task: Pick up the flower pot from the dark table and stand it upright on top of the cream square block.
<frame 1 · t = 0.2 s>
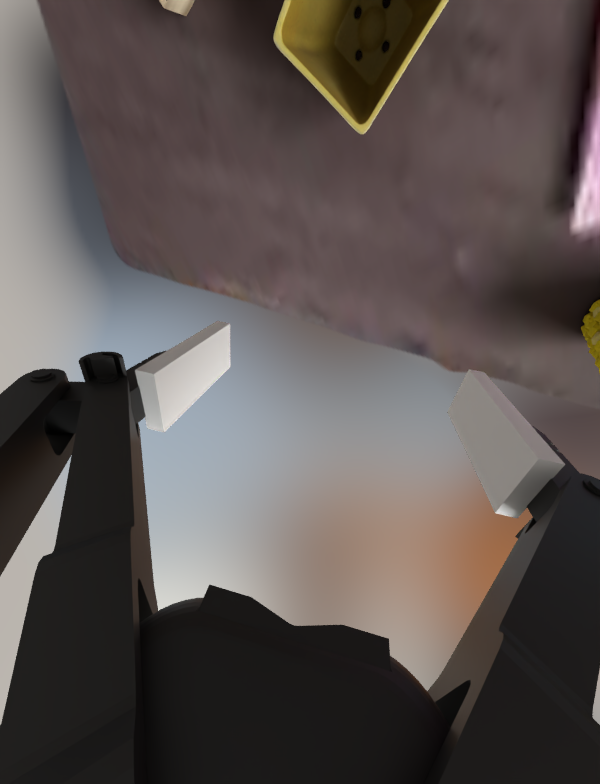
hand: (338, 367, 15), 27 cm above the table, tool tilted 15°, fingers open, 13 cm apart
flower pot: (370, 30, 23), on the table
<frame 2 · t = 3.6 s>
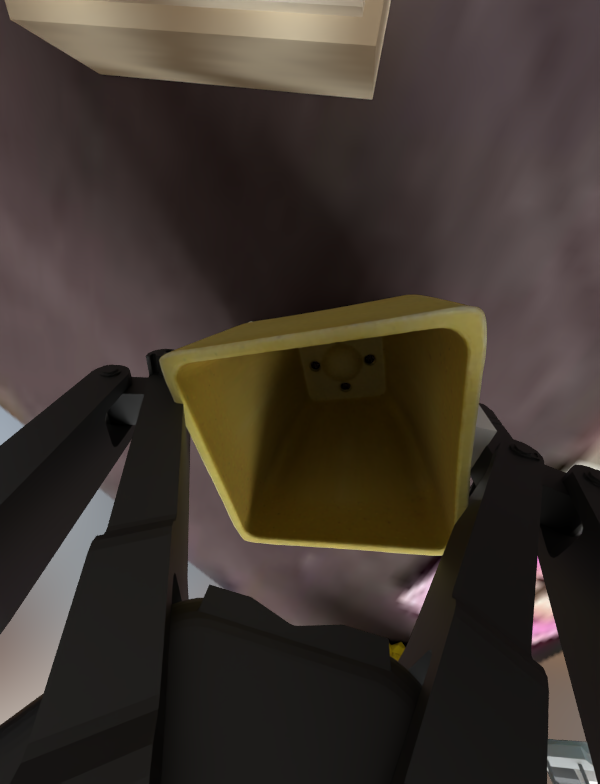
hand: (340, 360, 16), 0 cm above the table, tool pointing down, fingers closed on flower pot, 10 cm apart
toy car: (567, 739, 38), on the table
flower pot: (341, 357, 16), on the table, touching gripper
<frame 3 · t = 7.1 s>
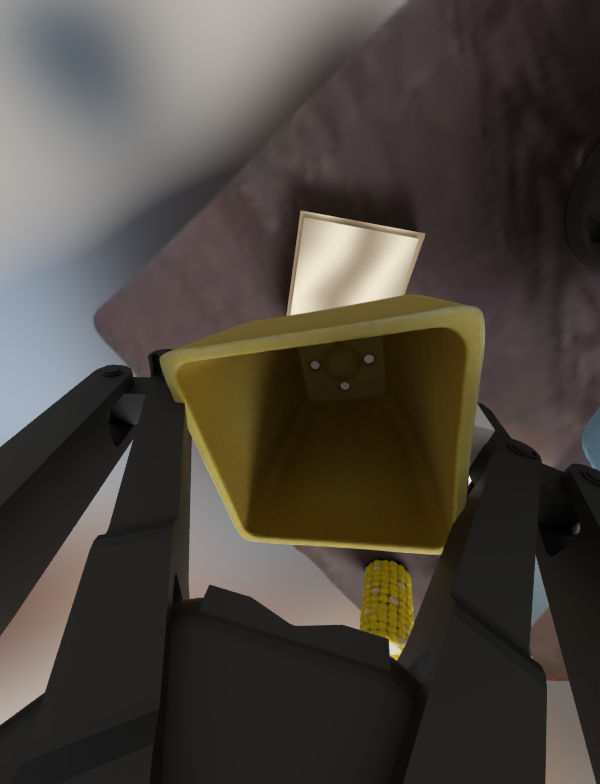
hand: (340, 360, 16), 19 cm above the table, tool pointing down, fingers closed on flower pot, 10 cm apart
food: (384, 568, 59), on the table
cream square block: (347, 282, 32), on the table
flower pot: (340, 357, 17), point 19 cm above the table, touching gripper
when the fingers open (6 cm above the table, at t = 10.8 s): flower pot drops 2 cm, resting on cream square block.
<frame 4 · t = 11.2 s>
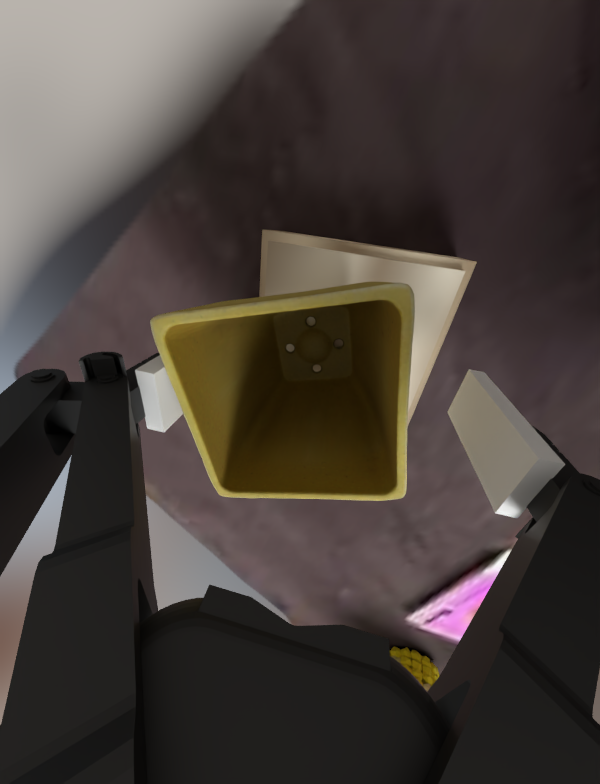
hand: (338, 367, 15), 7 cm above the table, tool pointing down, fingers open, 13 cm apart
food: (403, 654, 48), on the table
cream square block: (345, 329, 21), on the table
flower pot: (313, 341, 18), point 4 cm above the table, touching gripper, cream square block
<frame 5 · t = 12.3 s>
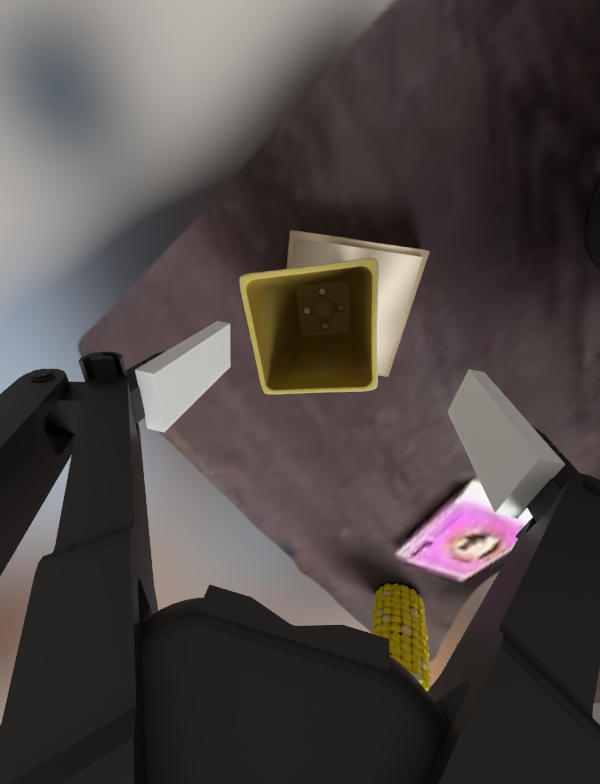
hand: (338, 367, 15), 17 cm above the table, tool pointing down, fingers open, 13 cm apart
food: (394, 591, 56), on the table
cream square block: (345, 302, 29), on the table
flower pot: (323, 306, 26), point 4 cm above the table, touching cream square block
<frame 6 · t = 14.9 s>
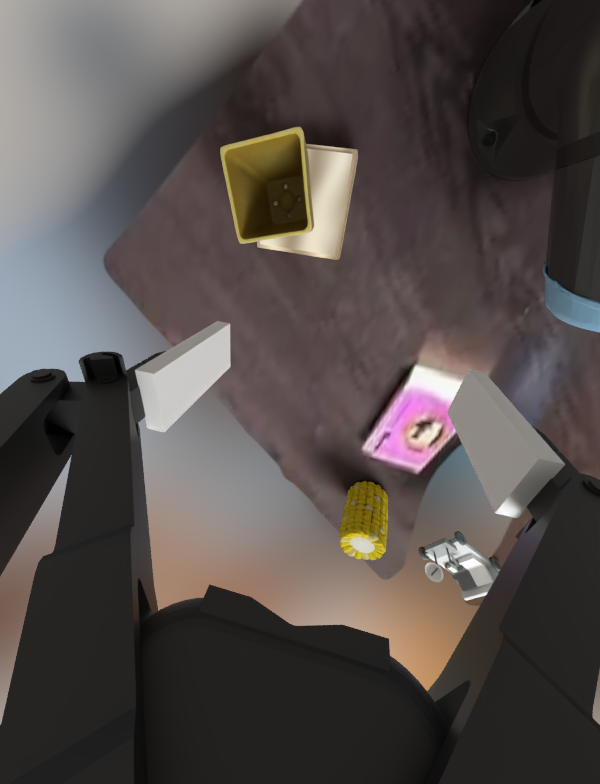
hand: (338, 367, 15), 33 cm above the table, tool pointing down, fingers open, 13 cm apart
food: (364, 491, 66), on the table
cream square block: (306, 205, 39), on the table
toy car: (453, 549, 70), on the table
flower pot: (287, 200, 36), point 4 cm above the table, touching cream square block
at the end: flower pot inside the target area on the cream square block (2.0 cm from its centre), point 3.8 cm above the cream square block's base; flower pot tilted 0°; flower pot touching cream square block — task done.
